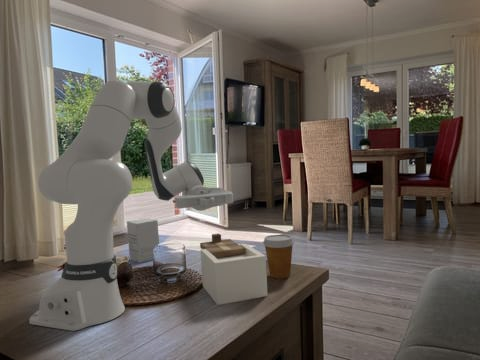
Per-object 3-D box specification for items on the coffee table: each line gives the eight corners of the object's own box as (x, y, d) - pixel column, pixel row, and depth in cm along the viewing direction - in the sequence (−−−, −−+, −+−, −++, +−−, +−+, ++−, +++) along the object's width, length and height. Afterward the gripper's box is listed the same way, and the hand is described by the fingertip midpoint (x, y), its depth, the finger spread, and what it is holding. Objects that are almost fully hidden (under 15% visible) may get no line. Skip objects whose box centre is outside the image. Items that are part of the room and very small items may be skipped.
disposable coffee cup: (297, 279, 115) (295, 240, 114) (265, 281, 115) (263, 241, 115) (293, 270, 125) (291, 233, 124) (264, 271, 125) (262, 235, 124)
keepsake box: (202, 286, 114) (200, 249, 113) (246, 278, 118) (245, 243, 118) (217, 305, 99) (215, 263, 98) (267, 295, 103) (265, 255, 103)
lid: (200, 247, 122) (199, 235, 122) (230, 243, 126) (229, 231, 125) (211, 258, 109) (211, 244, 109) (244, 253, 112) (244, 240, 112)
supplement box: (150, 254, 155) (147, 217, 154) (160, 258, 148) (158, 219, 147) (128, 259, 149) (126, 221, 148) (139, 263, 143) (136, 223, 142)
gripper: (171, 192, 136) (178, 195, 123) (225, 187, 143) (238, 190, 130) (172, 209, 137) (179, 214, 124) (226, 204, 144) (239, 208, 130)
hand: (209, 202), depth 127 cm, fingers closed
